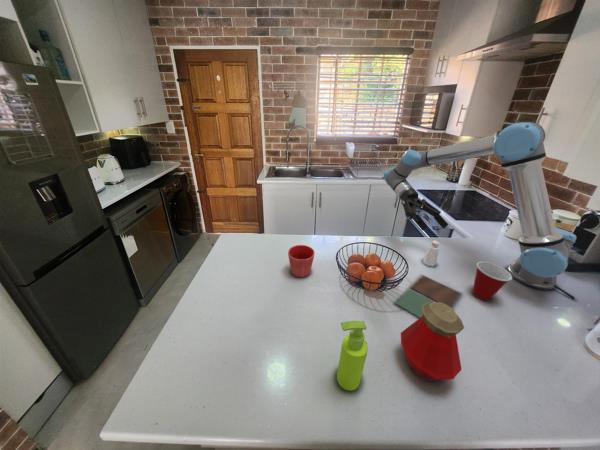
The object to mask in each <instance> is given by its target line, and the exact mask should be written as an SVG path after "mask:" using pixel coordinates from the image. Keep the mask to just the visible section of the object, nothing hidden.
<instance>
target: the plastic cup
mask: <svg viewBox="0 0 600 450" xmlns="http://www.w3.org/2000/svg"><path fill="white" fill-rule="evenodd" d="M512 280H513V277H512V276H511V274H510V273H509V272H508V271H507V269H506V268H503V267H502V266H500V265H497V264H495V263H492V262H489V261H481V260H480V261H478V262H477V263H476V271H475V276H474V280H473V286H472V293H473V295H474V297H476V298H479V299H481V300H482V301H483V300H484V301H490V300H491V299H492V298H493V297H494V296H495V295H496V294H497V293H498V292H499V291H500V290H501V289H502V287H503V286H504V285H505V284H507V283H508V282H510V281H512Z"/></svg>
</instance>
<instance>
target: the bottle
mask: <svg viewBox="0 0 600 450" xmlns="http://www.w3.org/2000/svg"><path fill="white" fill-rule="evenodd" d="M422 312H423V316H422V317H421V318H418V319H417V320H415V321H414V322H412V323H411V324H410V325H409V326H407V327H405V328H404V329H403V330H402V331H401V332H400V342H401V347H402V349H403V353H404V356H405V359H406V361H407V363H408V365H409V368H410V369H411V370H412V371H413V372H414V373H415V374H416V375H417V376H419V377H420V378H422V379H423V380H424V381H428V382H429V381H430V382H439V381H449V380H454V379H455V378H456V377H457V375H459V373H460V372H461V371H462V365H461V364H462V363H461V358H460V352H459V345H458V339H457V335H458V334H459V333H461V332H462V331H463V330H465V326H464V323H463V320H462V319H461V318H460V316H459V315H458V313H456V311H455V310H454V309H453V308H452V307H451V308H450V307H449V306H448V305H446V304H443V303H441V302H436V301H433V302H426V303H425V304H423V305H422Z"/></svg>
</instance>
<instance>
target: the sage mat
mask: <svg viewBox="0 0 600 450" xmlns="http://www.w3.org/2000/svg"><path fill="white" fill-rule="evenodd" d="M426 302H434V300H432V299H430V298H428V297H426V296H424V295H423V294H421V293H419V292H417V291H415V290H413V289H408V290H407V291H406V292H405V293H404V295H402V296H401V297H400V299H398V300H397V301H396V303H395V305H396V306H398V307H400V308H402V309H403V310H405V311H407V312H408V313H409V314H411V315H413V316H414V317H416V318H418V319H419V318H421V317H422V316H423V312H422V305H423V304H425V303H426Z"/></svg>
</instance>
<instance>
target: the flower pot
mask: <svg viewBox="0 0 600 450" xmlns="http://www.w3.org/2000/svg"><path fill="white" fill-rule="evenodd" d="M315 254H316V253H315V250H314V248H312V247H311V246H309V245H306V244H298V245H294V246H291V247H290V248H289V249H288V251H287V255H288V256H287V257H288V259H289V260H288V261H289V266H290V271H291V274H292V275H293V276H294V277H298V278H305V277H307V276H308V275H309V274H310V273H311V271H312V270H311V269H312V267H313V262H314V257H315Z"/></svg>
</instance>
